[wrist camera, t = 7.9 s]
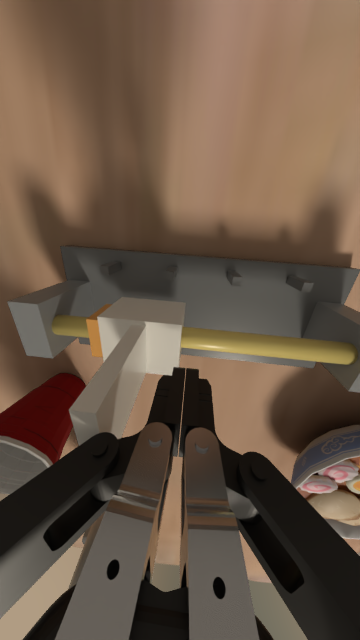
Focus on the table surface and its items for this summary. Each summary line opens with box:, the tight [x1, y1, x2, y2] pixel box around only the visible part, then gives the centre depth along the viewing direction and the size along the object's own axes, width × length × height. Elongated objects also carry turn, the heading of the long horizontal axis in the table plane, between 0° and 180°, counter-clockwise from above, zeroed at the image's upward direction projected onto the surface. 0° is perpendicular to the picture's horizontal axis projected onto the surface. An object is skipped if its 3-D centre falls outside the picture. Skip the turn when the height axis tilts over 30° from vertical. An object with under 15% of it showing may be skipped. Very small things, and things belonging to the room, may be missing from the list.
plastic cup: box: [0, 373, 86, 494], centre depth 24 cm, size 11×11×12 cm
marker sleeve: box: [69, 297, 186, 446], centre depth 13 cm, size 6×5×12 cm
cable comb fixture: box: [7, 246, 360, 392], centre depth 18 cm, size 30×12×9 cm, turn 86°
